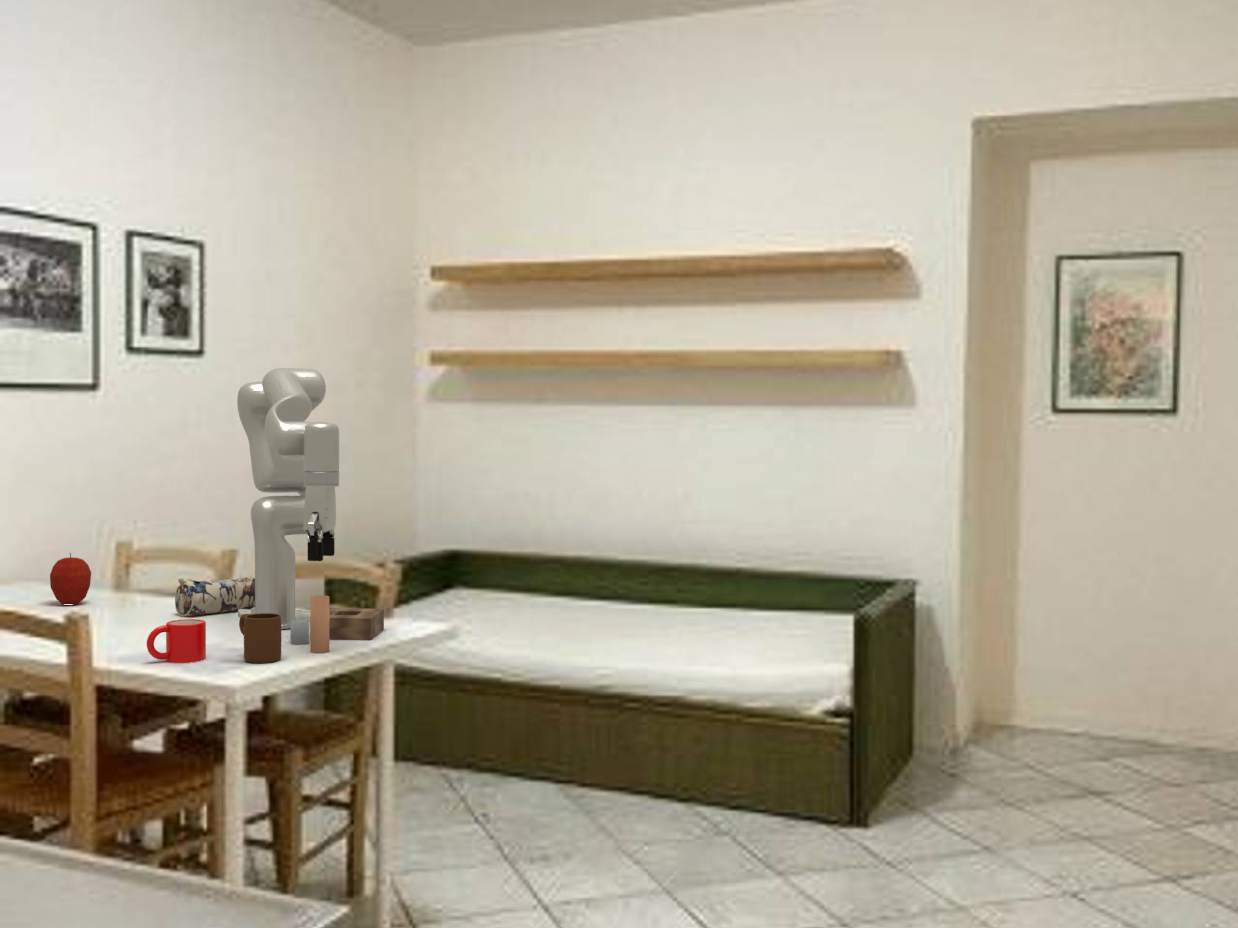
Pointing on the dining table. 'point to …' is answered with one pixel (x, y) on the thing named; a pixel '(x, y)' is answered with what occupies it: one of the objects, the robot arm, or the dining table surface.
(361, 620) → the walnut hole block
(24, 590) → the dining table surface
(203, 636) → the mug
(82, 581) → the apple
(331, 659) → the dining table surface
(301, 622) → the short pin
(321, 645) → the long pin
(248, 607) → the pencil case
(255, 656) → the mug
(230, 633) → the dining table surface
